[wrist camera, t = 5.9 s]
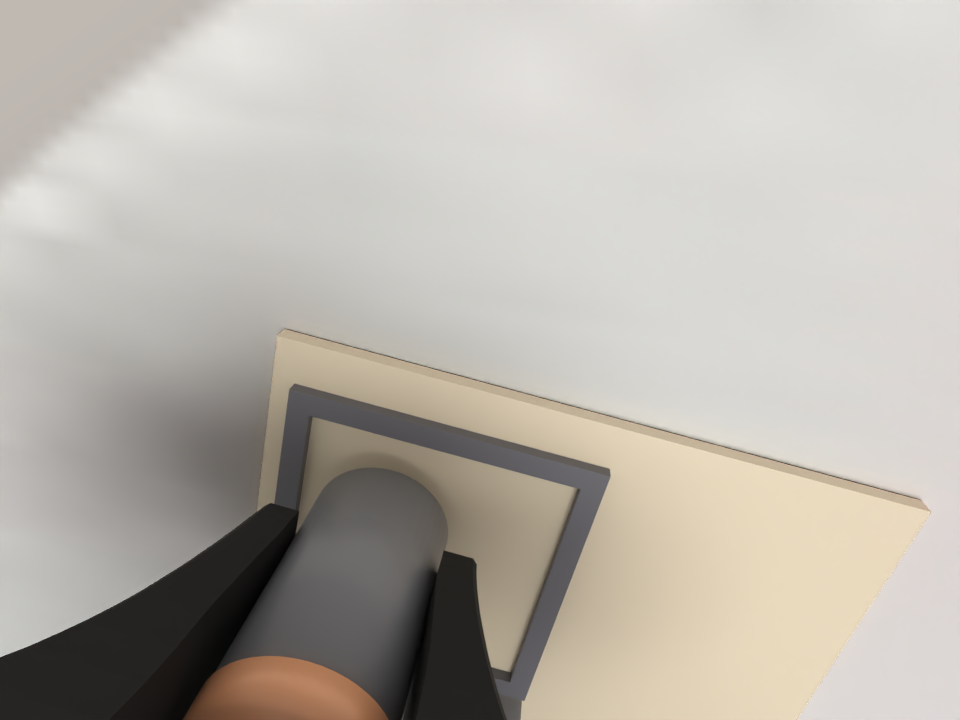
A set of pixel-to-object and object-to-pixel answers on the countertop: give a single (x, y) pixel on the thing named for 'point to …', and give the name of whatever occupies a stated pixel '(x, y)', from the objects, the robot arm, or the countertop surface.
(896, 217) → the countertop surface
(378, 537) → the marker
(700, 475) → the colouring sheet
